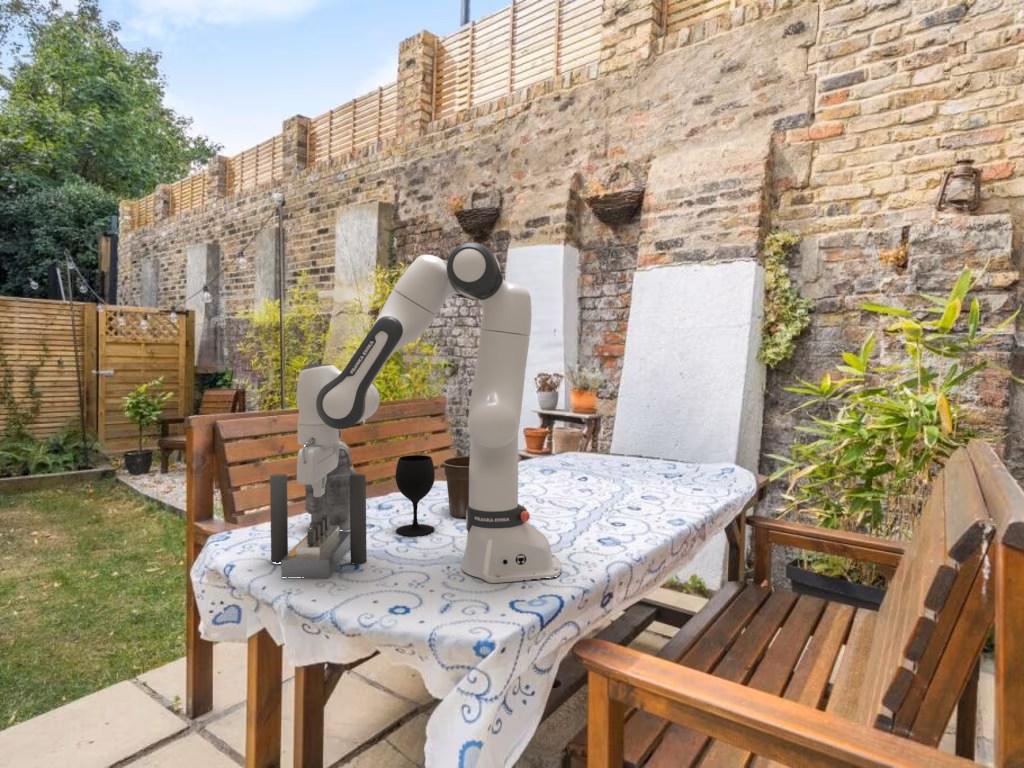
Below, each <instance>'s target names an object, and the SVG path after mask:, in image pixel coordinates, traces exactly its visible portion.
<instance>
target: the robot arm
mask: <svg viewBox="0 0 1024 768" xmlns="http://www.w3.org/2000/svg"><path fill="white" fill-rule="evenodd" d="M502 273H503V272H502V269H501V267H500V263H499V261H498V259H497V257H496V256H495V255H494V254H493V252H492V251H491V250H490V249H489V247H487V246H485V245H483V244H481V243H479V242H474V241H472V242H464V243H461V244H459V245H458V246H456V247H455V248H453V250H452V251H451V252H450V253H449V256H448V257H447V260H444V259H442V258H440V257H438V256H435V255H433V254H421V255H419V256H417V258H415V260H413V262H412V263H411V264H410V265H409V266H408V268H406V270H405V271H404V273H403V274H402V275H401V276H400V278H398V281H397V282H396V284H395V285H394V287H393V289H392V290H391V292H390V294H389V295H388V297H387V299H386V301H385V303H384V305H383V306H382V309H381V310H380V312H379V314H378V316H377V318H376V319H375V321H374V323H373V326H371V329H370V331H369V332H368V333H367V334H366V337H365V338H364V339H363V340H362V342H361V343H360V345H359V346H358V348H357V350H356V351H355V352H354V353H353V355H352V357H351V358H350V360H349V361H348V362H347V365H346V366H345V367H344V369H343V370H341V369H340V370H339V369H338V368H337V367H336V365H333V364H330V363H324V364H323V363H322V364H316V365H312V366H307V367H305V368H302V369H301V371H300V372H299V374H298V379H297V388H296V405H297V408H298V419H297V423H296V424H297V445H300V446H303V447H302V448H300V449H299V450H298V452H297V461H296V481H297V483H298V485H302V486H305V485H312V488H313V496H314V497H321V496H322V495H323V494H324V493H325V484H326V480H327V474H328V473H330V472H331V471H332V470H334V469H335V468H336V467H337V465H338V461H339V441H340V440H341V439H342V436H343V433H342V430H345V429H349V428H352V427H353V426H355V425H356V424H357V423H360V422H363V421H365V420H367V419H369V418H371V416H373V415H375V413H376V412H377V411H378V409H379V408H380V406H381V405H380V404H381V394H380V391H379V390H378V388H377V386H376V385H375V384H373V383H374V382H375V379H376V378H377V376H378V375H379V374H380V372H381V370H382V369H383V368H384V366H385V364H386V363H387V362H388V360H389V359H390V357H391V356H392V355H394V353H396V352H397V351H398V350H400V349H402V348H403V347H404V346H407V345H408V344H410V343H413V342H414V341H417V340H418V339H419V338H420V337H421V336H422V335H423V334H424V333H425V332H426V331H427V330H428V328H429V327H430V326H431V324H433V321H434V320H435V318H436V317H437V316H438V315H437V314H438V313H439V312H440V310H441V308H442V306H443V304H445V302H446V301H447V300H448V298H450V297H451V296H453V295H454V296H457V297H461V298H463V299H464V298H465V299H468V300H471V301H477V302H479V303H480V305H481V309H482V314H481V324H480V332H479V337H478V338H479V339H478V348H477V356H476V363H475V370H474V376H473V383H472V389H471V396H470V403H469V411H468V417H467V428H468V432H469V434H470V437H469V438H470V439H469V440H470V441H469V456H470V462H469V504H468V505H467V510H466V518H465V519H466V520H465V523H466V524H465V525H466V526H465V527H466V531H467V534H466V535H467V538H466V544H465V551H464V555H463V559H462V563H461V564H460V565H461V567H460V569H461V570H462V572H464V573H465V574H467V575H469V576H472V577H476V578H479V579H482V580H484V581H485V582H487V583H489V584H497V583H498V584H499V583H501V584H502V583H508V582H509V583H510V582H523V580H525V581H532V580H531V579H537V580H540V579H539V578H546V577H555V576H557V575H558V574H560V572H561V573H562V562H561V561H560V558H558V557H557V556H556V555H555V554H553V553H552V548H551V544H550V542H549V539H548V538H547V536H546V535H545V534H544V533H543V532H541V531H540V530H539V529H537V528H536V527H535V526H533V525H532V524H531V523H529V520H530V518H531V515H530V512H529V511H528V509H527V508H526V507H525V505H523V504H522V505H521V504H519V429H520V424H521V423H520V422H521V415H522V408H523V407H522V405H523V398H524V387H525V379H526V370H527V360H528V356H529V355H528V354H529V348H530V347H529V345H530V340H531V330H532V298H531V294H530V292H529V291H528V290H527V288H525V287H524V286H522V285H521V284H518V283H515V282H509V281H507V280H505V279H504V277H503V274H502ZM560 575H561V574H560Z"/></svg>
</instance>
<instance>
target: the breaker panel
mask: <svg viewBox="0 0 1024 768" xmlns="http://www.w3.org/2000/svg"><path fill="white" fill-rule="evenodd" d="M349 549H350V530H349V531H348V530H344V531H339V526H329V528H328V529H325V532H324V533H323V534H321V536H320V537H319V539H316V542H315V543H314V544H308V543H307V534H306V535H305V536H304V538H302V539H301V540H300V541H299V542H298V543H297V544H296V545H295V546H294V547H292V549H291V550H290V551H288V554H287V555H286V556H285V557H284V558H283V559H282V560H281V564H280V565H281V566H280V568H281V572H280V573H281V578H282V577H287V578H288V577H301V578H300V579H330V578H331V577H332V575H333V574H332V573H334V572H335V571H336V570H337V568H338V567H337V566H339V565H340V564H341V562H342V561H343V560H344V558H345V557H346V556H347V554H348V553H349V551H350V550H349ZM348 550H349V551H348ZM347 552H348V553H347ZM346 553H347V554H346ZM345 555H346V556H345ZM344 556H345V557H344ZM343 557H344V558H343ZM342 559H343V560H342ZM341 560H342V561H341ZM340 561H341V562H340ZM339 563H340V564H339ZM338 564H339V565H338ZM336 567H337V568H336ZM334 570H335V571H334ZM331 574H332V575H331ZM302 577H304V578H302ZM329 577H330V578H329Z"/></svg>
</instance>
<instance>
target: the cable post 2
mask: <svg viewBox="0 0 1024 768" xmlns="http://www.w3.org/2000/svg"><path fill="white" fill-rule="evenodd" d="M366 482H367V475H366V474H363V473H361V474H360V473H358V474H357V473H356V474H355V475H350V529H349V531H350V550H349V551H350V555H349V556H350V558H349V559H350V564H352V563H354V564H353V565H362V564H361V563H363V564H366V563H367V558H368V557H367V548H368V547H367V491H366V490H367V483H366Z"/></svg>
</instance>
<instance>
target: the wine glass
mask: <svg viewBox="0 0 1024 768" xmlns="http://www.w3.org/2000/svg"><path fill="white" fill-rule="evenodd" d="M435 477H436V476H435V466H434V461H433V458H432V457H431V456H429V455H424V454H423V455H422V454H421V455H419V454H414V455H413V454H411V455H404V456H401V457H398V461H397V464H396V468H395V483H396V486H397V488H398V490H399V492H400V493H401V494H402V495H403V496H404V497H405V498H406V499H407V500H409V501H410V502H411V503H412V508H413V509H412V510H413V511H412V512H413V517H412V518H413V519H412V524H406V525H402V526H400V527H397V528H396V530H395V533H396V534H397V535H398V534H399V536H401V535H402V536H401V537H405V536H407V537H408V538H418V537H417V536H420V537H425V535H426V536H429V535H432V534H434V532H435V528H434V526H432V525H429V524H425V523H424V524H422V523H419V521H418V505H419V502H420V501H421V500H422V499H424V498H425V497H426V496H427V495H428V494H429V492H430V491H431V490H432V488H433V487H434V483H435ZM431 533H432V534H431ZM428 534H429V535H428Z"/></svg>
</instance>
